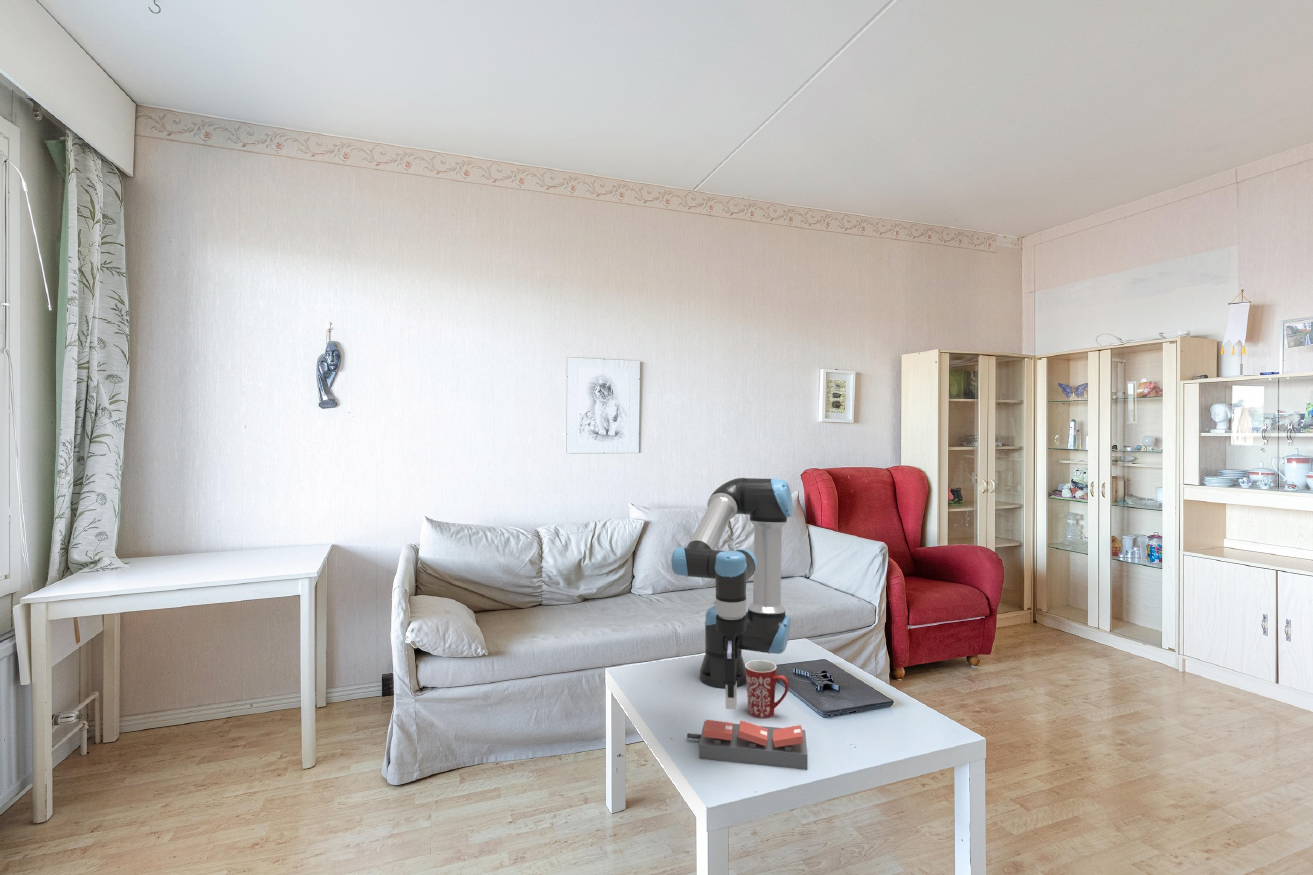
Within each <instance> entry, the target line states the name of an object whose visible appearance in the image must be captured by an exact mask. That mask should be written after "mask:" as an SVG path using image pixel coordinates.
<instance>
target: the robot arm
mask: <svg viewBox="0 0 1313 875" xmlns="http://www.w3.org/2000/svg"><path fill="white" fill-rule="evenodd" d="M790 487H791V486H790V485H789V483H788V481H786V480H785V479H780V478H773V477H772V478H757V477H755V478H753V477H752V478H750V477H738V478H733V479H730V480H729V481H727V482H725V483H723V484H721V485H720V486H718V487H717V488H716V489H715V490H714V491H713V492H712V494H711V495H710V496H709V498H708V499H707V500H708V501H707V503H706V504H707V509H706V511H705V512H704V514H703V517H702V518H701V519H700V521H699V524H698V526H696V527H697V528H696V529H695V531H694V533H693V535H692V537H691V538H690V540H689V542H688V544H687V545H686V547H685V546H682V547H681V546H680V547H675V548H674V549H673V551H672V554H671V561H670V563H671V565H670V566H671V570H672V572H673V574H675V575H676V576H677V575H678V576H684V577H687V578H689V577H690V578H691V577H692V578H703V579H704V578H705V579H712V580H713V579H714V580H715V600H713V603H712V604H713V605H714V606H711V607H709V608H708V609H707V610H706V611H705V622H704V628H705V630H704V632H705V634H704V635H705V636H704V637H705V639H704V640H705V642H704V643H705V645H704V647H705V653H704V657H703V660H702V662H701V666H700V670H699V679H700V681H701V682H702V683H704V684H706V685H708V686H710V687H714V688H723V689H725V691H724V692H725V710H734V711H735V710H737V708H738V706H737V705H738V697H737V696H738V691H737V690H738V687H740V686H743V685H744V684H746V683H747V681H746V668H745V664H746V663H745V661H744V659H743V655H742V650H744V651H751V652H758V653H764V654H768V655H770V654H773V655H774V654H777V655H781V654H783V653H784V652H785V650H786V648H787V645H788V641H789V638H790V637H789V636H790V632H791V630H790V629H791V624H792V623H791V621H792V620H791V617H790V616H788V615H786V608H785V607H784V606H783V605H782V603H781V602H782V600H781V599H782V596H781V595H782V547H783V546H782V542H783V541H782V540H783V538H782V536H783V535H782V534H783V533H782V532H783V527H784V526H785V525H786V524H787V523H788V518H790V517H792V515H793V498H792V497H793V496H792V492H791V488H790ZM736 515H746V516H747V515H748V516H749V522H750V523H751V525H753V528H754V530H753V533H754V534H753V538H754V539H753V552H752V551H751V550H749V549H747V548H739V549H736V550H719V549H717V547H718V544H719V543H720V540H721V539H722V536H724V535H723V534H724V532H725V530H726V529H727V526H728V525H729V524H728V523H729V522H730V520H731V519H733V518H735V517H736ZM751 577H752V578H753V580H752V581H753V584H752V586H753V587H752V588H753V589H752V603H750V604H749V605H748V606H747V581H748V580H749V579H750V578H751ZM747 607H748V608H747Z"/></svg>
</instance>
